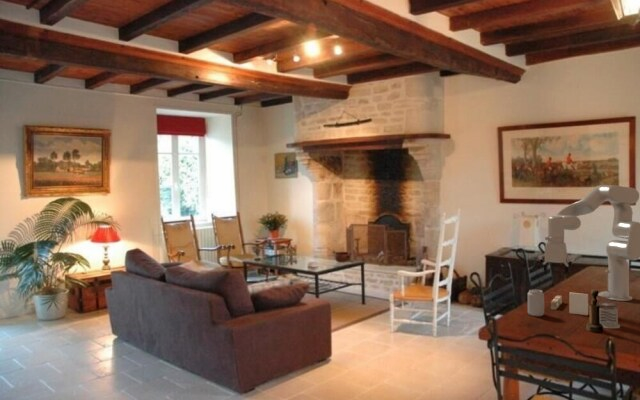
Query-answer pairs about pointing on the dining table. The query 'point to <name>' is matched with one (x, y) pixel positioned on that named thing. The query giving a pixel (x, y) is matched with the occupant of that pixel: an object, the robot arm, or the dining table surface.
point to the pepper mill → (594, 314)
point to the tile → (578, 303)
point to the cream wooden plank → (556, 302)
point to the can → (535, 303)
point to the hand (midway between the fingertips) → (555, 272)
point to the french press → (608, 310)
